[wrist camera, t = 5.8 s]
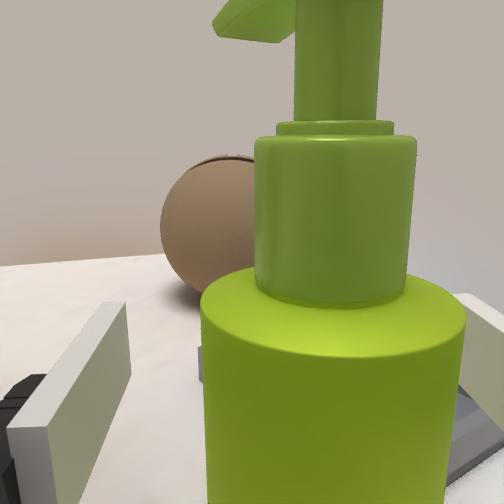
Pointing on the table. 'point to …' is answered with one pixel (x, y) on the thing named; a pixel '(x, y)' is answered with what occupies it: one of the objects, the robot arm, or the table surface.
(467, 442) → the tray
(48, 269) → the table surface
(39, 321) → the table surface
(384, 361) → the soap dispenser
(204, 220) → the tan ball
